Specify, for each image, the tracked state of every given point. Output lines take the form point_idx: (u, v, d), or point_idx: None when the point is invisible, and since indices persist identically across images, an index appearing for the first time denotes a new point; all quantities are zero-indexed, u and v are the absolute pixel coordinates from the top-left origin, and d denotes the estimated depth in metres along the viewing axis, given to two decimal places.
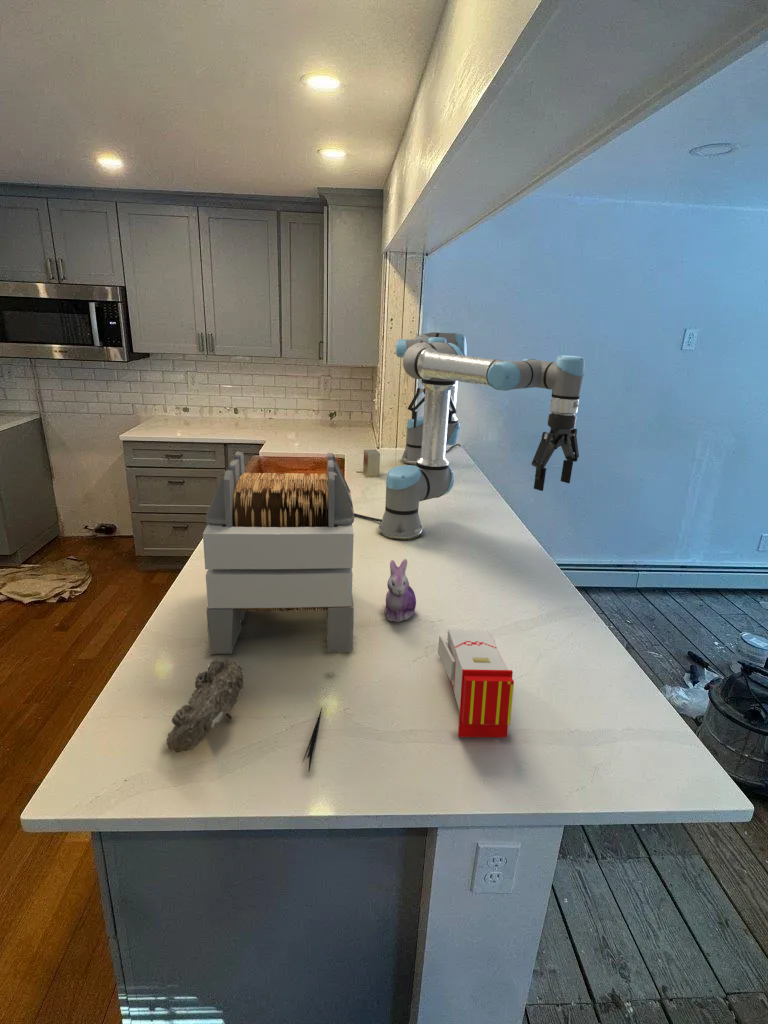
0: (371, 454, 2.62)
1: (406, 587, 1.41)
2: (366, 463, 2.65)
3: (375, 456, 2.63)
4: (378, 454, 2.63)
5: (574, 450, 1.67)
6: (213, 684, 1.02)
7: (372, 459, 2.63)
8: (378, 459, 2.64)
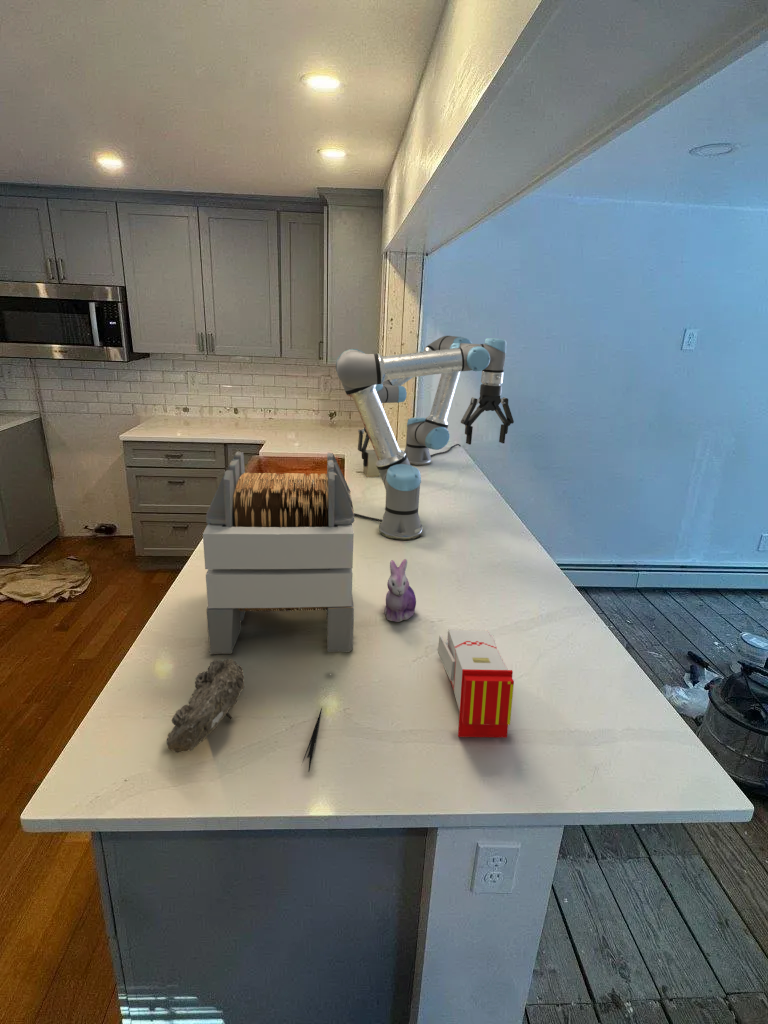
0: (371, 454, 2.62)
1: (406, 587, 1.41)
2: (366, 463, 2.65)
3: (375, 456, 2.63)
4: None
5: (508, 416, 2.06)
6: (213, 684, 1.02)
7: (372, 459, 2.63)
8: None
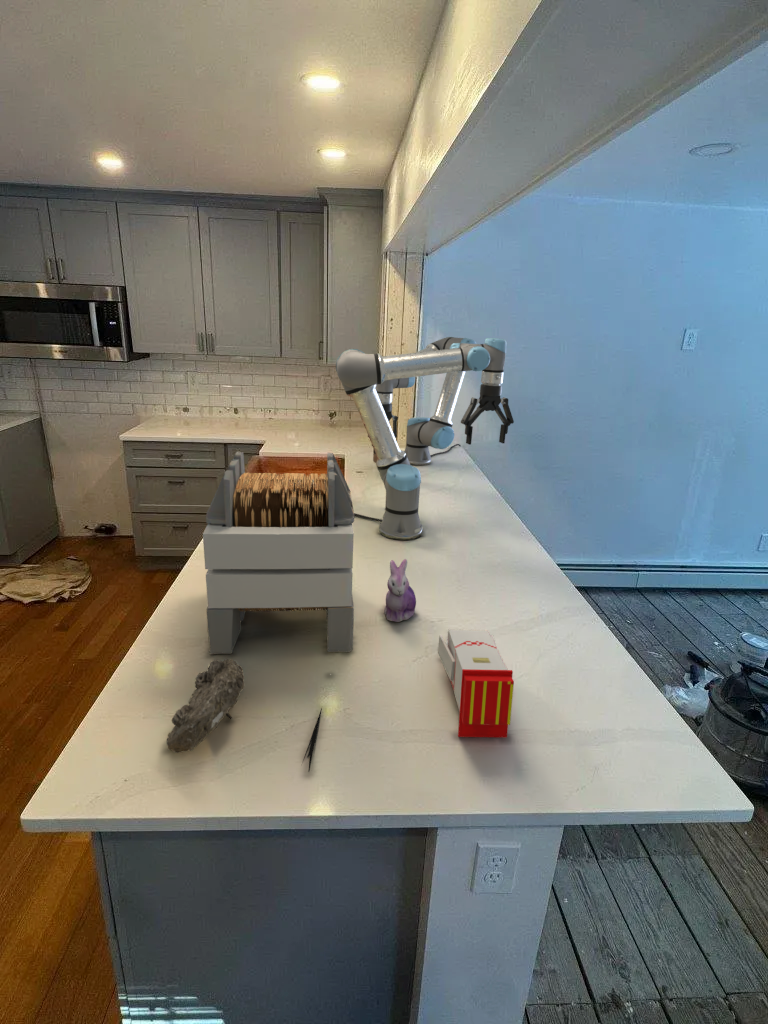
0: None
1: (406, 587, 1.41)
2: None
3: None
4: None
5: (508, 416, 2.06)
6: (213, 684, 1.02)
7: None
8: None
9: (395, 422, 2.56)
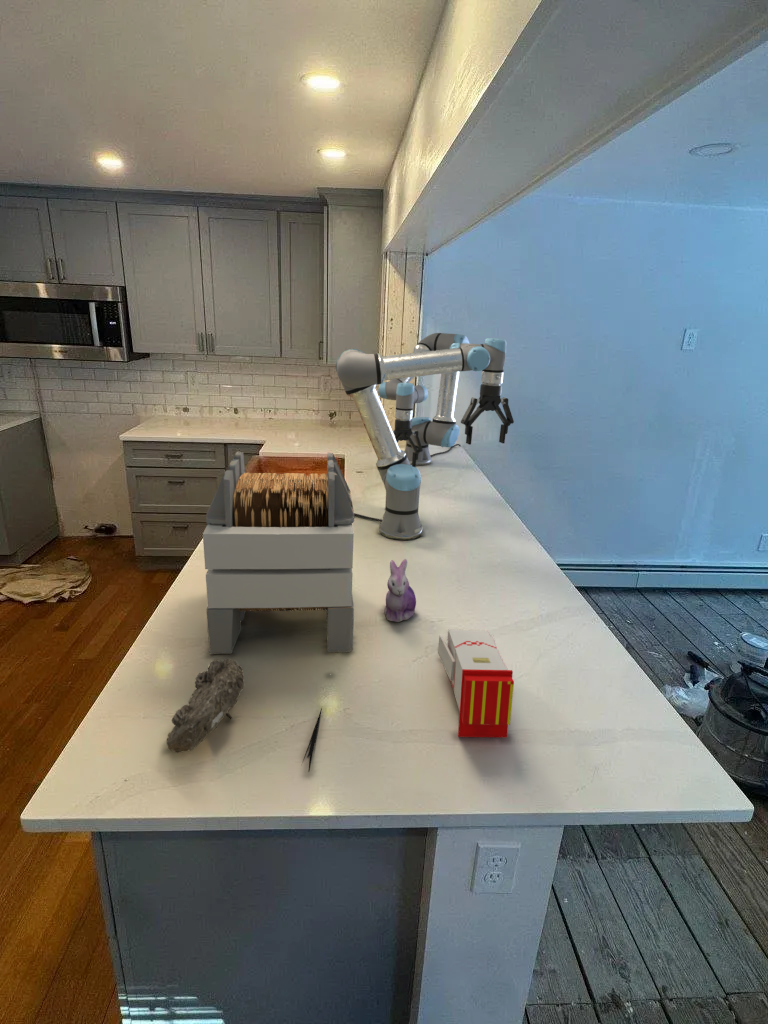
0: None
1: (406, 587, 1.41)
2: None
3: None
4: None
5: (508, 416, 2.06)
6: (213, 684, 1.02)
7: None
8: None
9: (417, 437, 2.50)
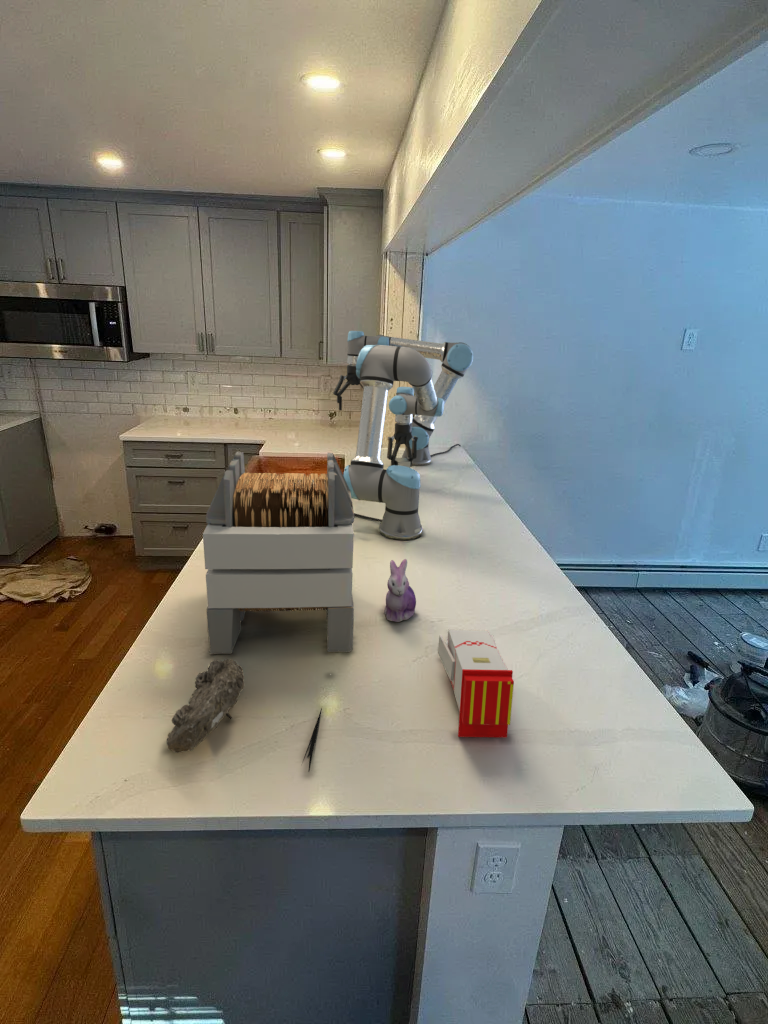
0: (401, 462, 2.50)
1: (406, 587, 1.41)
2: None
3: (405, 465, 2.51)
4: (408, 462, 2.51)
5: (413, 451, 2.53)
6: (213, 684, 1.02)
7: None
8: None
9: None
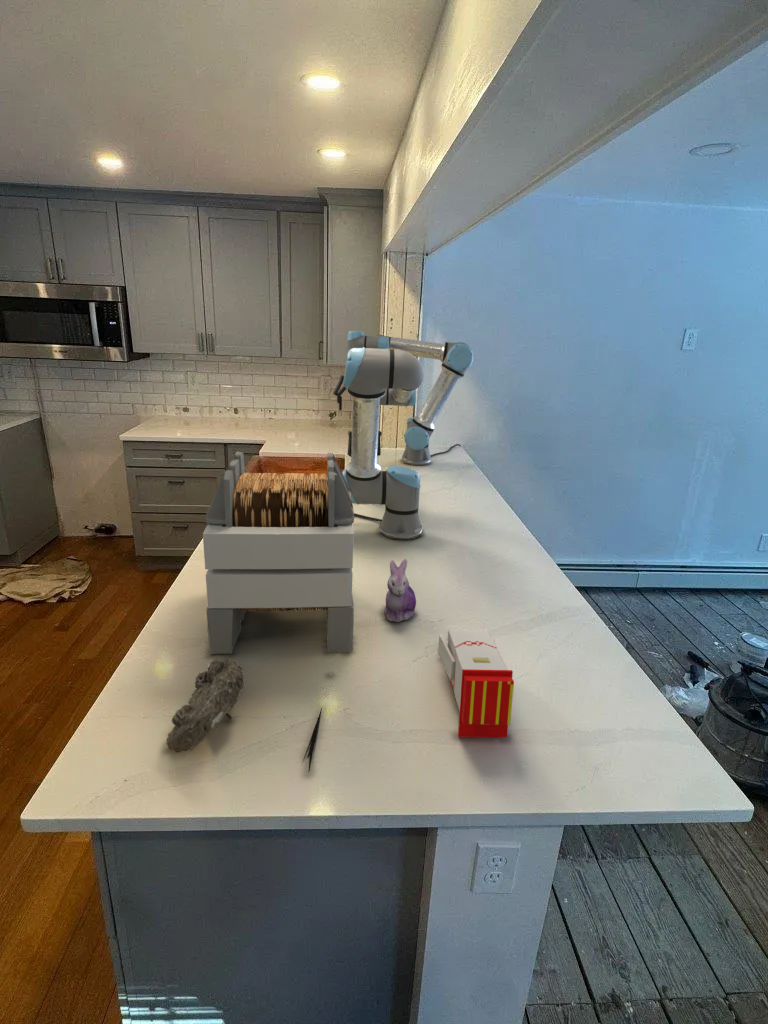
0: None
1: (406, 587, 1.41)
2: None
3: None
4: None
5: (377, 448, 2.28)
6: (213, 684, 1.02)
7: None
8: None
9: None
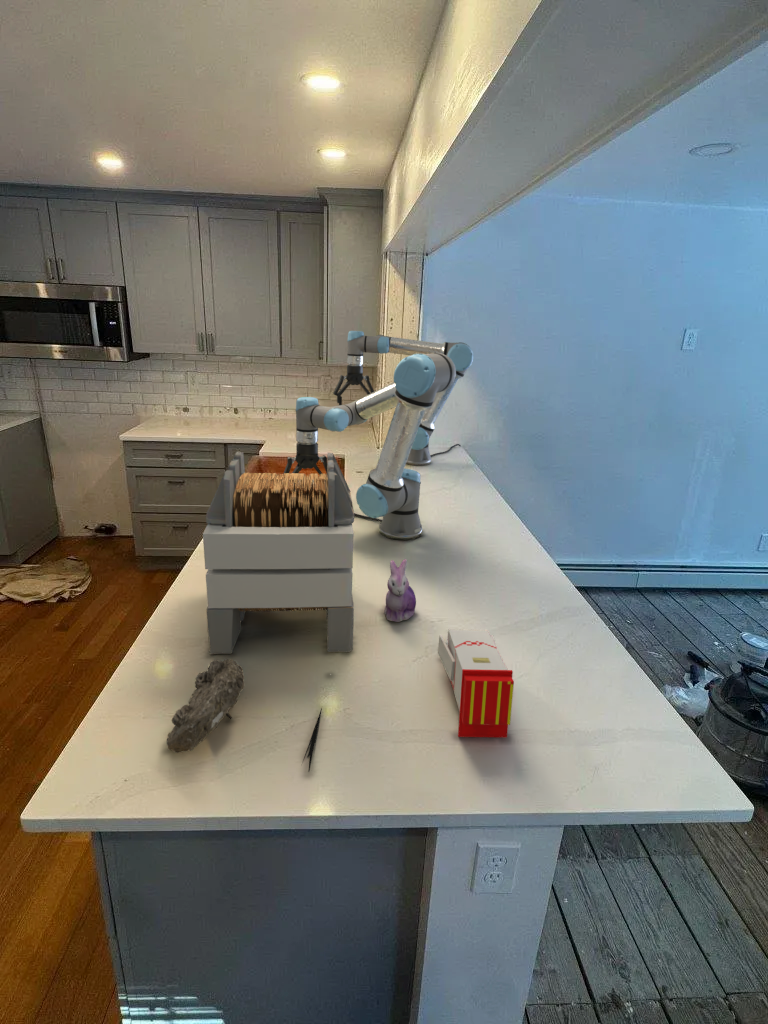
0: None
1: (406, 587, 1.41)
2: None
3: None
4: None
5: None
6: (213, 684, 1.02)
7: None
8: None
9: (368, 381, 2.72)
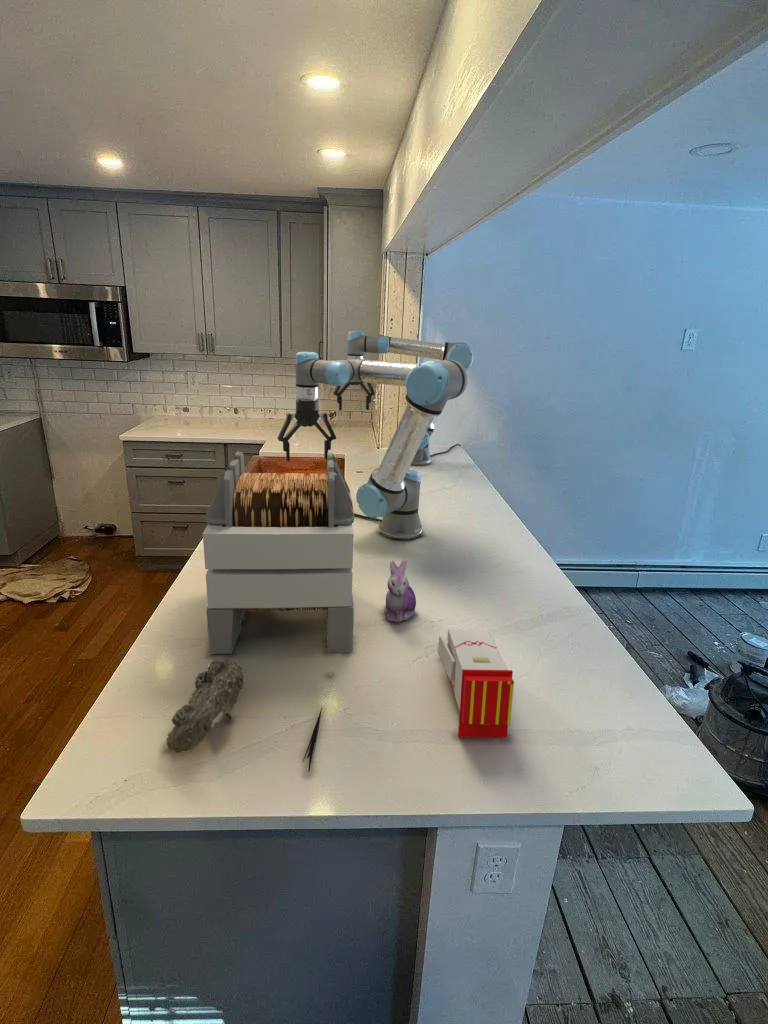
0: None
1: (406, 587, 1.41)
2: None
3: None
4: None
5: (329, 432, 1.98)
6: (213, 684, 1.02)
7: None
8: None
9: None
